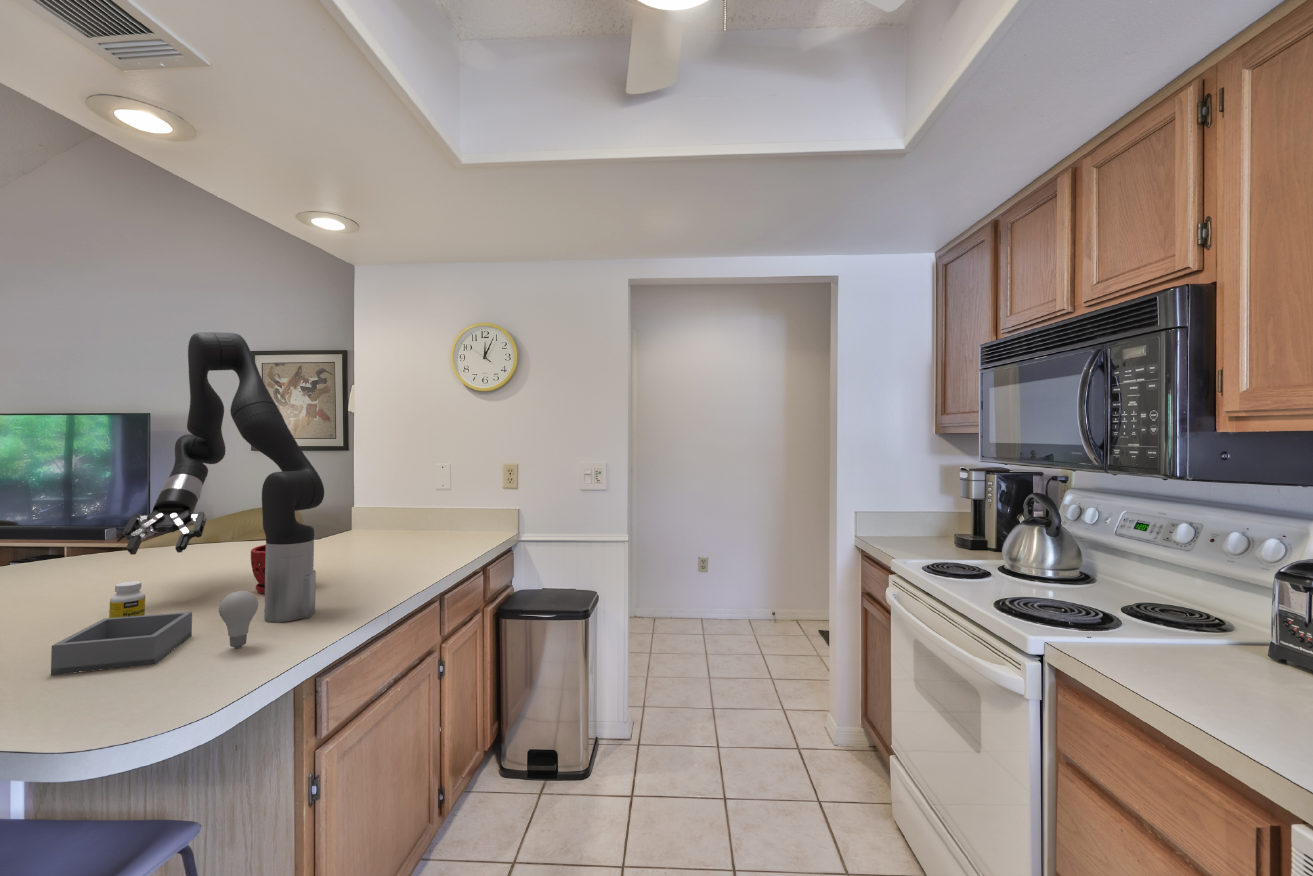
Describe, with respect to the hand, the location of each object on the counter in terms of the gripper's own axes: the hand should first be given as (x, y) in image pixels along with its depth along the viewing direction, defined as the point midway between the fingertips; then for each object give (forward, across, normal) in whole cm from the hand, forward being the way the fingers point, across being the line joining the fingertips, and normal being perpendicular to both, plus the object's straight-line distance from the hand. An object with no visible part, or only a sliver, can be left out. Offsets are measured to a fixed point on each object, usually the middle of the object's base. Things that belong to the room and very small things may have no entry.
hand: (155, 551), depth 125 cm
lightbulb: (+32, +25, -11) cm, 42 cm away
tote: (+29, +7, -9) cm, 31 cm away
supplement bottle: (+18, 0, +2) cm, 18 cm away
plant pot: (0, +21, +21) cm, 30 cm away
